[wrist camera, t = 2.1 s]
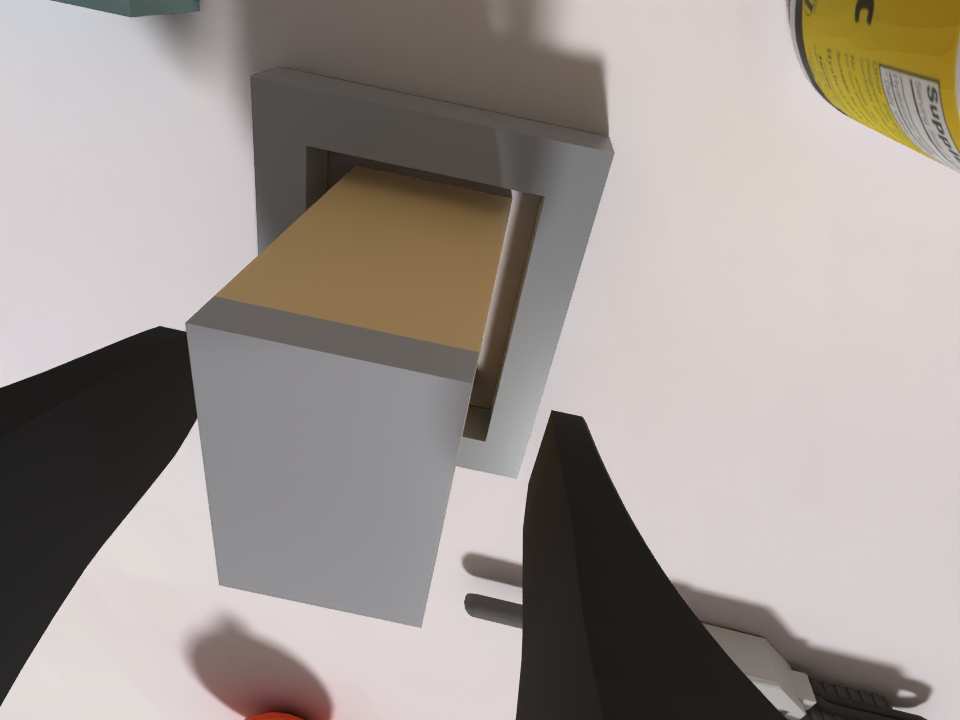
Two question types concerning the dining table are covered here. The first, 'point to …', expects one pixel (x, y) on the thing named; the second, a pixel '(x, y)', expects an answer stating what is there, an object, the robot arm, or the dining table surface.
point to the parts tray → (137, 6)
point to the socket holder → (456, 153)
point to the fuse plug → (346, 392)
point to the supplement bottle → (887, 67)
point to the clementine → (274, 716)
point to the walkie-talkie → (750, 672)
